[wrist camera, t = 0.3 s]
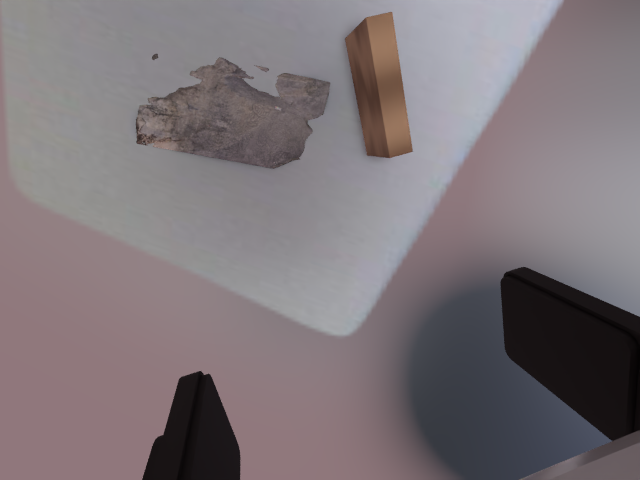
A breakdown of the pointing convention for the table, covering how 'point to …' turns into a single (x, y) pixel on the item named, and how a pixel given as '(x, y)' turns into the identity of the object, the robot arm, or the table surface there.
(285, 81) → the stone slab
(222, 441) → the robot arm
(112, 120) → the table surface
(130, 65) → the table surface
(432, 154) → the table surface
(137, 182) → the table surface
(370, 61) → the brown wooden block
